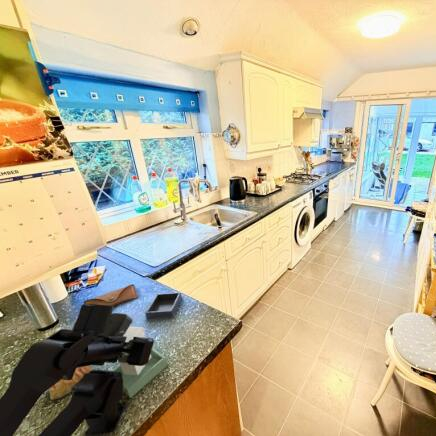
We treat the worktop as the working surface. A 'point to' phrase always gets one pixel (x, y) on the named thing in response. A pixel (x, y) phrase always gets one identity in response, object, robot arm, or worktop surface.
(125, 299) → the sunglasses case
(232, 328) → the worktop surface
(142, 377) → the front tote
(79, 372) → the pastry
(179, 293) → the tray
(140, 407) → the worktop surface
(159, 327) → the worktop surface
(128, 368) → the package
